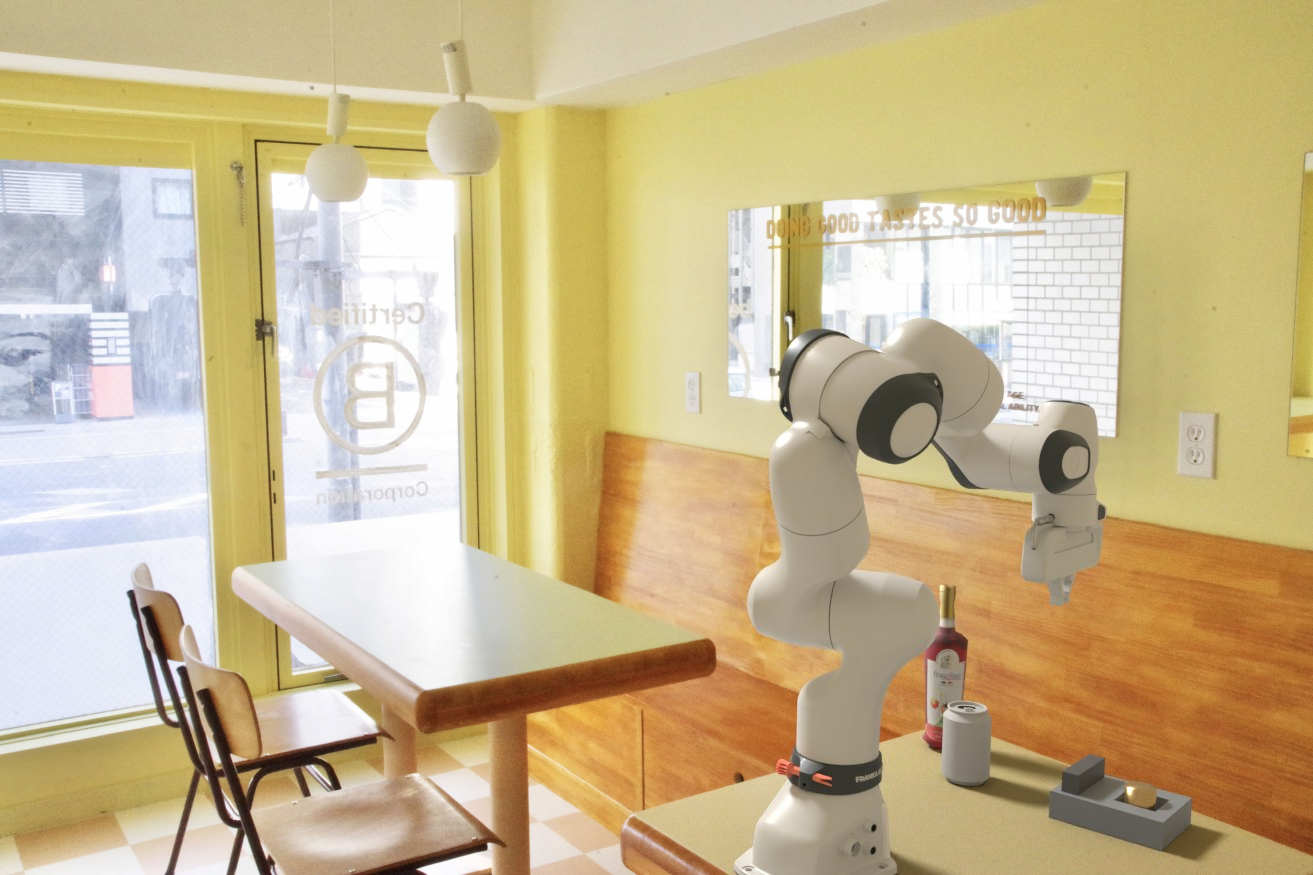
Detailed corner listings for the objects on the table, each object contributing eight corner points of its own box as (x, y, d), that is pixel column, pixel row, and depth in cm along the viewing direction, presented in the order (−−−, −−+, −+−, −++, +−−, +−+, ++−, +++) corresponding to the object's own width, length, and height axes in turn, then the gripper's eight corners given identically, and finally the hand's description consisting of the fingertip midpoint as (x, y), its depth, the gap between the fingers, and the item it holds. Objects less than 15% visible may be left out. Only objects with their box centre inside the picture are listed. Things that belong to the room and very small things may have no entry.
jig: (1161, 850, 156) (1164, 801, 155) (1048, 816, 167) (1050, 770, 166) (1190, 824, 165) (1193, 777, 164) (1081, 793, 176) (1083, 749, 175)
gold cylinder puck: (1148, 835, 161) (1150, 794, 160) (1118, 826, 164) (1120, 786, 163) (1159, 826, 164) (1161, 786, 163) (1129, 818, 167) (1131, 778, 166)
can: (984, 771, 185) (987, 699, 184) (993, 789, 177) (996, 713, 176) (937, 768, 185) (940, 697, 184) (944, 786, 178) (947, 711, 177)
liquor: (923, 752, 193) (928, 589, 191) (918, 737, 200) (923, 580, 198) (967, 754, 192) (973, 591, 190) (960, 739, 199) (966, 582, 197)
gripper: (1054, 520, 156) (1050, 619, 157) (1111, 506, 171) (1107, 597, 172) (1011, 515, 160) (1007, 612, 162) (1070, 502, 176) (1066, 590, 177)
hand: (1059, 604), depth 167 cm, fingers closed
